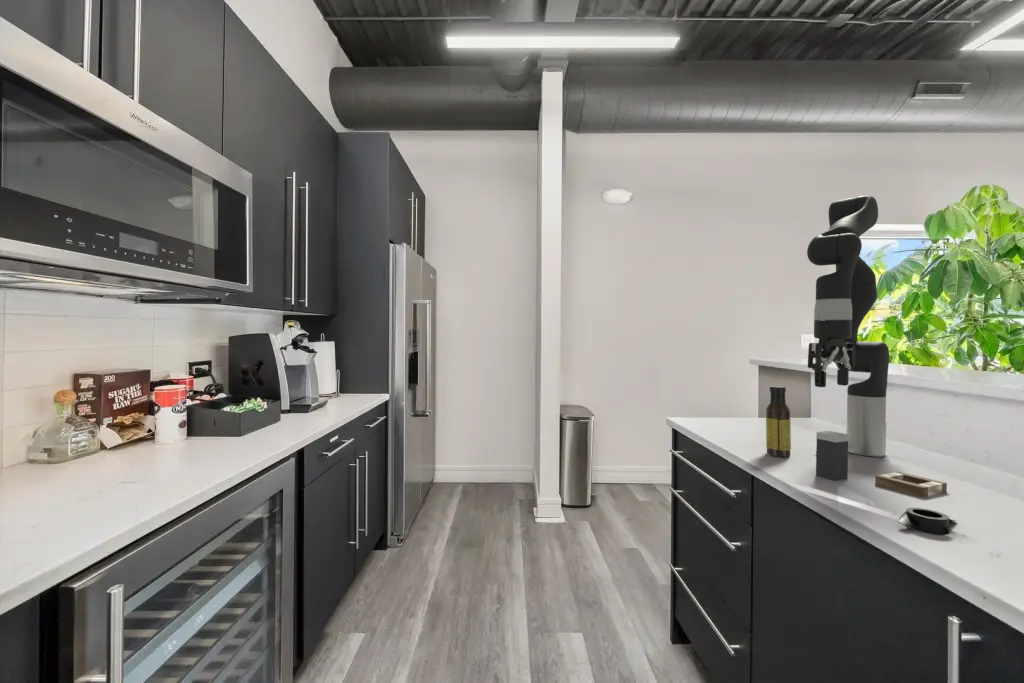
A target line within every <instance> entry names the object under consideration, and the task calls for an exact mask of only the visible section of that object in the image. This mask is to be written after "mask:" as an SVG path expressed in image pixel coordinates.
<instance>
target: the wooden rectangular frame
mask: <svg viewBox="0 0 1024 683" xmlns="http://www.w3.org/2000/svg"><path fill="white" fill-rule="evenodd" d="M874 484H875V486H879V487H882V488H886V489H889V490H893V491H898V492H901V493H905V494H908V495H910V496H911V495H912V496H915V497H919V498H928V497H931V496H932V497H933V496H937V495H941V494H946V493H947V490H948V488H947V485H948V483H947V482H944V481H940V480H937V479H936V480H935V479H931V478H927V477H923V476H919V475H914V474H910V473H907V472H902V471H896V472H890V473H882V474H879V475H878V474H877V475H875V481H874Z"/></svg>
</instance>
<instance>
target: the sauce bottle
mask: <svg viewBox="0 0 1024 683" xmlns="http://www.w3.org/2000/svg"><path fill="white" fill-rule="evenodd" d="M769 392H770V403H769V404H768V405H767V407H766V413H765V414H766V417H765V425H766V426H765V429H766V430H765V440H766V444H765V445H766V454H768V455H769V456H772V457H776V458H788V457H790V456H791V449H792V443H791V441H792V436H791V435H792V434H791V432H792V430H791V429H792V428H791V426H792V425H791V420H792V419H791V410H790V408H789V406H788V405H787V404H786V402H787V401H786V392H787V388H786V386H782V385H781V386H780V385H770V386H769Z"/></svg>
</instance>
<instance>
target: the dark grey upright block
mask: <svg viewBox="0 0 1024 683" xmlns="http://www.w3.org/2000/svg"><path fill="white" fill-rule="evenodd" d="M848 441H849V435H848V434H846V433H843V432H837V431H832V430H823V431H817V432H816V448H815V449H816V451H815V457H816V458H815V460H816V461H815V476H816V477H819V478H824V479H827V480H831V481H834V482H838V481H843V480H848V476H849V473H848V472H849V471H848V470H849V466H848V465H849V452H848Z"/></svg>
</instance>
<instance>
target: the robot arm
mask: <svg viewBox="0 0 1024 683" xmlns="http://www.w3.org/2000/svg"><path fill="white" fill-rule="evenodd" d="M878 218H879V206H878V202H877V200H876V198H875V197H874V196H873V195H859V196H855V197H850V198H844V199H840V200H836V201H833V202H832V203H830V205H829V206H828V223H829V228H828V230H826V231H823V232H821V233H819V234H817V235H815V236H814V238H812V239H811V240H810V241H809V244H808V246H807V250H806V255H807V259H808V260H809V262H810V263H811V264H813V265H815V266H819V267H820V266H831V265H832V266H833V265H835V272H832V273H829V274H824V275H821V276H819V277H817V279H816V281H815V304H814V309H813V337H814V338H815V339H818V342H809V343H808V354H807V368H808V369H811V370H813V371H814V386H815V387H817V388H825V387H827V371H826V370H827V368H828V366H829V365H831V364H832V363H834V364H835V365H836V368H837V372H836V373H837V374H836V376H837V378H836V379H837V380H836V383H837V385H838V386H847V391H846V392H847V398H846V399H847V400H846V412H847V413H846V433H845V434H848V435H849V441H848V453H850V454H854V455H860V456H863V457H864V456H866V457H885V456H886V455H885V454H886V452H887V450H886V449H887V448H886V447H887V445H886V444H887V420H886V419H887V418H886V417H887V414H886V413H887V389H888V377H889V375H888V373H889V365H890V349H889V347H888V344H887V343H885V342H883V341H865V340H864V341H858V332H859V328H860V326H861V324H862V322H863V320H864V319H865V317H866V316H867V314H868V313H869V312H870V310H871V309H872V307H873V306H874V305H875V303H876V301H877V297H878V293H877V292H878V290H877V289H878V288H877V280H876V279H877V276H876V274H875V272H874V270H873V269H872V267H871V266H869V264H868V263H867V262H866V261H865V260H863V259H862V257H860V255H861V252H862V247H863V244H862V240H861V238H860V237H861V236H862V235H864V234H865V233H866V232H867V231H869V230H871V228H873V227H874V226H875V225H876V224H877V222H878ZM814 361H815V362H814ZM850 372H854V373H855V372H856V373H870V375H869V378H867V379H865V380H863V381H860V382H855V383H851V384H849V375H850V374H849V373H850Z"/></svg>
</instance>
